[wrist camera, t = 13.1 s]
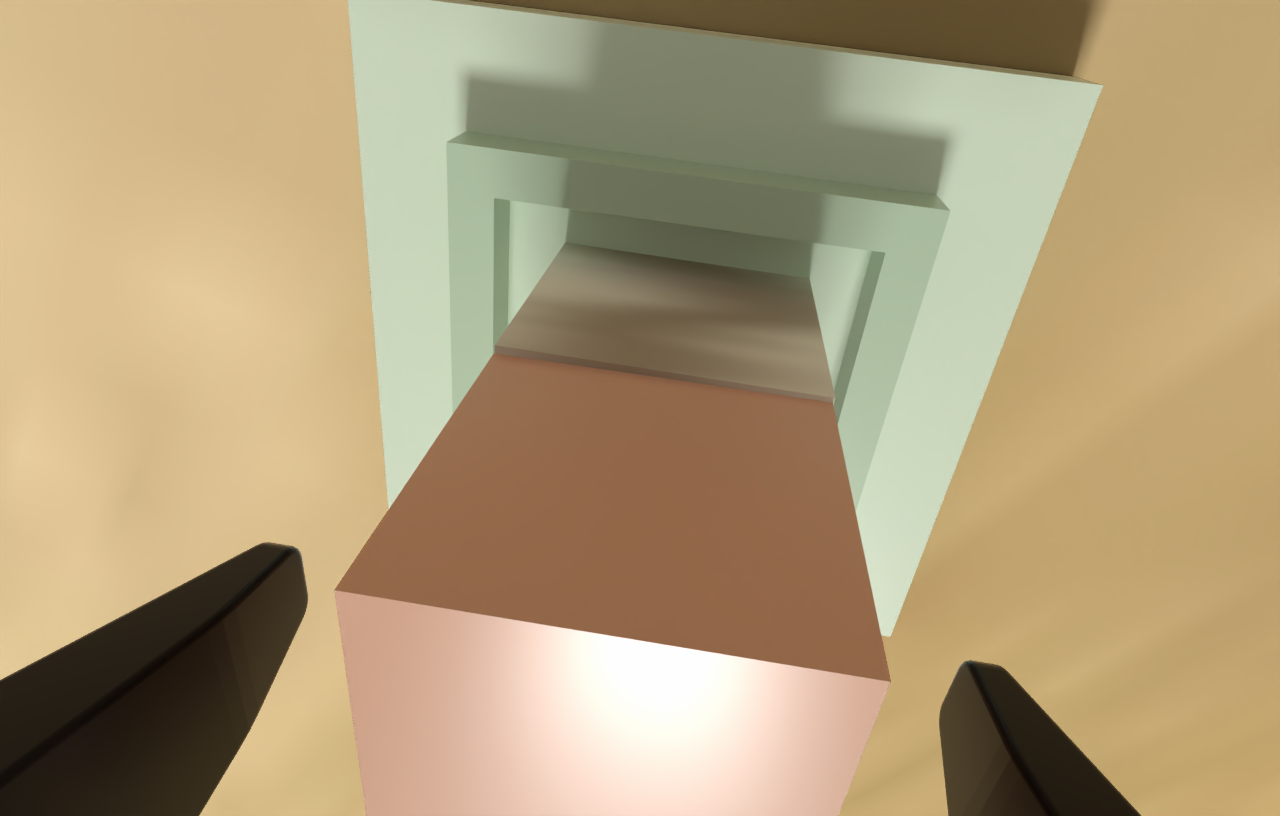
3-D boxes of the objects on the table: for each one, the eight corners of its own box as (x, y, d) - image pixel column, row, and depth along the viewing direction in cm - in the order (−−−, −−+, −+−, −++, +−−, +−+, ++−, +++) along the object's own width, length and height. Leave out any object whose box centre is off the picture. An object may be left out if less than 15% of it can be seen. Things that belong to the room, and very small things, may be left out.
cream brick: (809, 278, 14) (835, 397, 10) (761, 480, 16) (767, 642, 12) (565, 242, 14) (494, 345, 10) (552, 446, 16) (491, 594, 12)
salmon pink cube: (832, 402, 10) (890, 682, 6) (768, 645, 12) (779, 962, 8) (493, 353, 10) (334, 591, 6) (493, 600, 12) (376, 888, 8)
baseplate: (1073, 76, 13) (1132, 93, 11) (882, 600, 19) (898, 670, 17) (378, -11, 13) (316, -10, 11) (411, 523, 19) (374, 582, 17)
